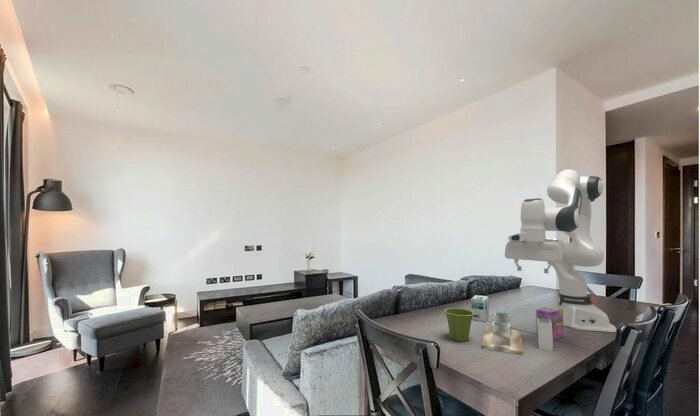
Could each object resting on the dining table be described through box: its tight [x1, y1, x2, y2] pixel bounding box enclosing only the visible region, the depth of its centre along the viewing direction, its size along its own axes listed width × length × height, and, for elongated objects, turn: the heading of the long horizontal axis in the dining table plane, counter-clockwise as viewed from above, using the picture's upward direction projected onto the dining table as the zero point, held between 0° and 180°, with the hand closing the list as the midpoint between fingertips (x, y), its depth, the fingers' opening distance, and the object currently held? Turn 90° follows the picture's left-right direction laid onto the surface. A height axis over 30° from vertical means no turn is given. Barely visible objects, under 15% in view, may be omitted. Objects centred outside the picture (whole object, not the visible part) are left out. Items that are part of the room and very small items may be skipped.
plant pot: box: [444, 307, 474, 342], centre depth 132 cm, size 12×12×11 cm
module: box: [536, 318, 554, 352], centre depth 123 cm, size 4×7×10 cm, turn 153°
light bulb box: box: [470, 294, 490, 323], centre depth 162 cm, size 11×7×11 cm, turn 147°
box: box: [535, 305, 565, 341], centre depth 134 cm, size 10×6×12 cm, turn 118°
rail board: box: [480, 311, 524, 356], centre depth 130 cm, size 14×26×9 cm, turn 153°
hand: (532, 271), depth 127 cm, fingers open, 8 cm apart
